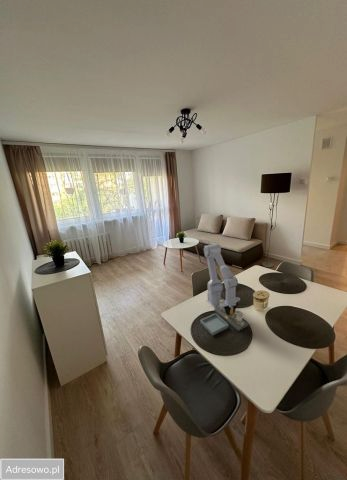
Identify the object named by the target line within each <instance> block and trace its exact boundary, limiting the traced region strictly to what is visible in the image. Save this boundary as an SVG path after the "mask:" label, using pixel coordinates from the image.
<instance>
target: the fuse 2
mask: <svg viewBox="0 0 347 480" xmlns="http://www.w3.org/2000/svg"><path fill="white" fill-rule="evenodd" d="M235 312H236V313H235V314H236V323H237V324H238V325H241V323H242V319H243V312H242V311H239V310H237V311H235Z"/></svg>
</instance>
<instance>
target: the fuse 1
mask: <svg viewBox="0 0 347 480" xmlns="http://www.w3.org/2000/svg"><path fill="white" fill-rule="evenodd" d="M225 300H226V299H224V298H221V299H220V304H222V303H223V302H224V301H225ZM223 309H225V308H223ZM223 309H222V308H221V307H220V310H221V311H223Z"/></svg>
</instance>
